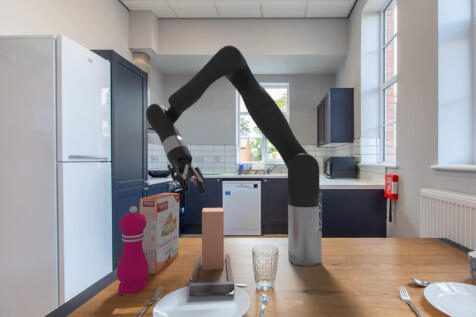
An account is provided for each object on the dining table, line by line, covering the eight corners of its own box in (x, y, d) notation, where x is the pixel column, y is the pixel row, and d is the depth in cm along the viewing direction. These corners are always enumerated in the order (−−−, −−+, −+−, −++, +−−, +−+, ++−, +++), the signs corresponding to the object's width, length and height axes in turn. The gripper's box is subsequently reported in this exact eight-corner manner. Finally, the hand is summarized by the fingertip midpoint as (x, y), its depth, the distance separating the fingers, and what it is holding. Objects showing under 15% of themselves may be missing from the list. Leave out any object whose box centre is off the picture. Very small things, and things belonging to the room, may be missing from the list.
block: (223, 260, 77) (223, 207, 77) (223, 268, 71) (223, 211, 71) (203, 261, 76) (203, 208, 77) (202, 269, 70) (202, 211, 71)
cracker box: (157, 277, 68) (158, 198, 68) (137, 275, 69) (137, 198, 69) (180, 257, 81) (180, 192, 82) (162, 256, 83) (163, 192, 83)
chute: (229, 260, 79) (229, 250, 79) (234, 298, 57) (234, 283, 57) (196, 261, 78) (196, 251, 78) (189, 300, 56) (189, 285, 56)
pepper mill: (155, 285, 63) (155, 204, 64) (134, 300, 56) (135, 209, 57) (131, 280, 66) (132, 203, 66) (109, 294, 59) (109, 207, 59)
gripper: (170, 140, 79) (191, 184, 72) (197, 149, 91) (216, 188, 85) (154, 154, 81) (172, 198, 74) (182, 161, 93) (200, 200, 87)
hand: (196, 192), depth 80 cm, fingers open, 8 cm apart
